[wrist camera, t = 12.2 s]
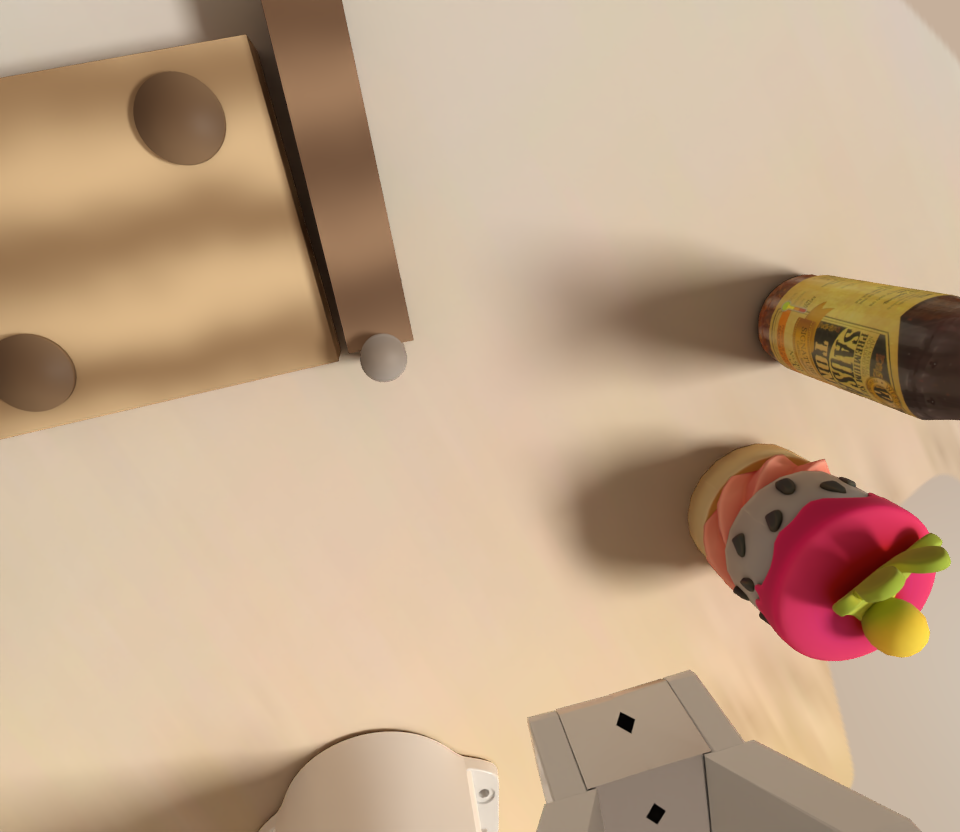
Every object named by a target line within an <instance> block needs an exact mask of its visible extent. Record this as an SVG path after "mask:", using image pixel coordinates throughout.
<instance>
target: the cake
mask: <svg viewBox="0 0 960 832" xmlns="http://www.w3.org/2000/svg"><path fill="white" fill-rule="evenodd" d="M687 516H688V524H689V532H690V535H691V537H692V539H693V541H694V543H695V544H696V546H697V548H698V549H699V550H700V551H701V552H702V553H703V554H704V555H705V556H706V557H707V562H708V563H709V564H710V565H711V566H712V568H713V569H714V570H715V571H716V572H717V573H718V575H719V576H720V577H721V578H722V579H723V580H724V582H725V583H726V584H727V585H728V586H729V587H730V588H731V589H732V590H733V592H734V593H735V594H737V595H738V596H740V597H741V598H743V599H745V600H748V601H750V602H751V603H752V604H753V605H754V606H755V607H756V608H757V609H758V610H759V611H760V614H759V617H760V618H761V619H762V620H764V621H765V622H767V623H768V624H769V625H771V626H772V628H773V629H774V631H775V632H776V633H777V634H778V635H779V636H780V638H781V639H782V640H784V641H785V642H786V643H787V644H788V645H789V646H790V647H792V648H793V649H794V650H796V651H798V652H799V653H801V654H803V655H805V656H808V657H810V658H814V659H818V660H824V661H842V660H849V659H854V658H857V657H860V656H864V655H866V654H868V653H871V652H873V651H875V650H877V649H878V650H880V651H881V652H883V653H885V654H887V655H890V656H896V657H909V656H912V655H914V654H916V653H918V652H920V651H921V650H922V649H923V647H924V646H925V645H926V644H927V643H928V639H929V635H930V631H929V628H928V625H927V621H926V618H925V616H924V615H923V614H922V613H921V612H920V611H921V609H922V608H923V606H924V604H925V603H926V601H927V598H928V596H929V594H930V592H931V589H932V586H933V583H934V579H935V574H936V572H938V571H941V570H944V569H946V568H947V567H949V566H950V564H951V560H950V557H949V555H948V553H947V551H946V550H945V549H944V548H942V547H940V546H941V545H942V540H941V539H940V538H939V537H938V536H937V535H935V534H932V533H929V532H928V530H927V529H926V527H925V526H924V525H923V524H922V522H921V521H920V520H919V519H918V518H917V517H915V516H914V515H913V514H911V513H910V512H908V511H907V510H905V509H903V508H902V507H900V506H898V505H896V504H894V503H892V502H891V501H889V500H887V499H885V498H883V497H879V496H877V495H875V494H873V493H866V492H864V491H862V490H861V489H859V488H857V487H856V484H855V482H854V481H851V480H849V479H847V478H844V477H839V478H838V477H835V476H833V475H830V472H829V469H828V466H827V463H826V461H825V459H822V460H818V461H814V462H810V461H808V460H806V459H804V458H802V457H801V456H799V455H797V454H795V453H793V452H791V451H789V450H787V449H784V448H782V447H779V446H777V445H774V444H753V445H749V446H746V447H743V448H739V449H736V450H734V451H732V452H730V453H729V454H727V455H726V456H724V457H722V458H721V459H719V460H718V461H716V462H715V463H714V464H713V465H712V466H711V467H710V469H709V470H708V471H707V472H706V473H705V474H704V475H703V476H702V477H701V479H700V481H699V483H698V484H697V486H696V488H695V490H694V492H693V494H692V496H691V500H690V505H689V510H688V515H687Z"/></svg>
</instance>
